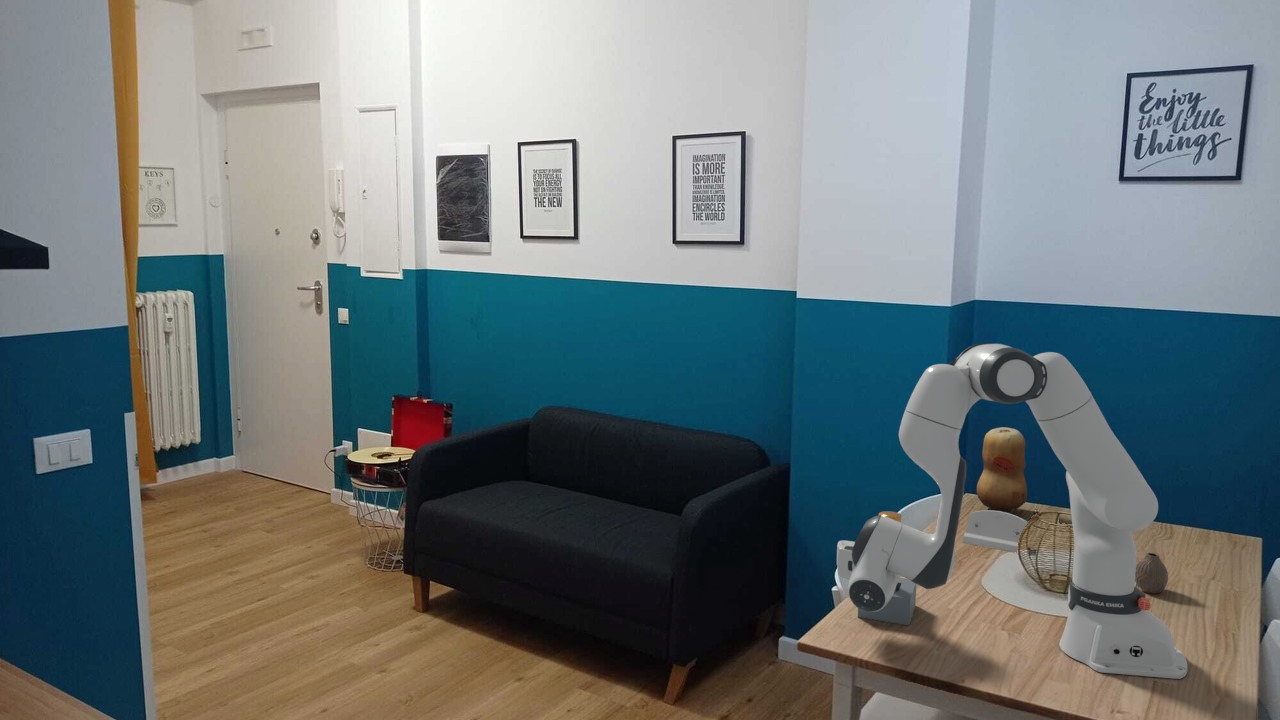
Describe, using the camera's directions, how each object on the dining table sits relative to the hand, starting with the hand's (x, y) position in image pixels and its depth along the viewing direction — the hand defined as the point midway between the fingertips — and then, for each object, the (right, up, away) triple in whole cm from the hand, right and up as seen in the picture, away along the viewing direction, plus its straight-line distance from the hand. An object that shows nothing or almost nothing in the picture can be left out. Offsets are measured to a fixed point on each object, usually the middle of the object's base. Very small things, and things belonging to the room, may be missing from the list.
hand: (889, 546), depth 202 cm
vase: (+64, -13, +11) cm, 66 cm away
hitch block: (0, -15, +1) cm, 15 cm away
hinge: (+40, -8, +42) cm, 59 cm away
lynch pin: (0, -9, +1) cm, 9 cm away
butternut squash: (+52, -4, +69) cm, 86 cm away
